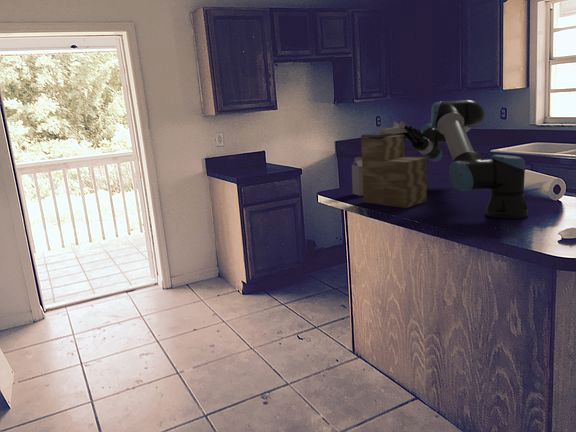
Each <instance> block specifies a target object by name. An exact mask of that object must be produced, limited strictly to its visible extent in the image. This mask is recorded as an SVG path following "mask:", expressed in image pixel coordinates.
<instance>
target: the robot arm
mask: <svg viewBox="0 0 576 432" xmlns="http://www.w3.org/2000/svg"><path fill="white" fill-rule="evenodd" d="M430 109H431V111H430V123H427V124H424V125H422V126H421V128H420V131H419V130H418V129H417V128H413V126H411V125H407V124H406V123H404V122H403V121H400V122H399V123H398V122H397V121H395V120H394V121H393V124H392V128H393V127H400V128H401V129H402V130H404V131H405V132H404V133H398V134H397V135H404V142H406V141H408V142H410V143H411V145H412V147H413V149H415V150H416V151H418V152H419V153H420V154H421V155H423V156H424V158H427V160H428V161H431V162H439V161H440V160H441V159H442V157H443V153H444V152H443V150H442V149H441V148H440V147H439V143H446V145H447V147H448V150H449V153H450V156H451V157H452V162H451V163H450V165H449V169H448V174H449V175H448V176H449V177H450V178H449V180H450V184H451V187H453V189H454V190H456V191H458V192H470V191H471V192H473V191H485V190H490V196H489V197H490V198H489V199H488V202H487V205H486V207H485V215H486V216H487V217H489V218H495V219H500V220H501V219H504V220H512V219H513V220H514V219H515V220H517V219H522V218H526V217H528V215H529V208H528V205H527V201H526V198H525V196H524V194H525V189H524V183H525V175H526V174H525V173H526V168H525V167H526V165H525V164H526V162H525V159H524V158H523V157H520V156H517V155H509V154H493V155H492V156H491V158H490V159H487V158H486V159H483V158H482V157H481V155H480V154H479V153H478V152H476V151H474V148H473V146H472V143H471V142H470V139H469V137H468V135H467V133H468V132H469V131H470V130H471V129H473V128H476V127H478V126H480V124H481V123H482V122H483V121H484V118H485V110H484V109H483V106H482V105H481V104H480V103H478V102H477V101H475V100H472V99H461V100H444V101H442V100H441V101H436V102H434V103H432V106H431V108H430Z"/></svg>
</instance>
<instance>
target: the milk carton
mask: <svg viewBox="0 0 576 432" xmlns="http://www.w3.org/2000/svg"><path fill="white" fill-rule="evenodd" d="M351 177H352V178H351V179H352V180H351V181H352V183H351V184H352V195H356V196H359V197H361V196H363V172H362V156H359V157H354V159H353V162H352V163H351Z"/></svg>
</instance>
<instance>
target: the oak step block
mask: <svg viewBox="0 0 576 432" xmlns="http://www.w3.org/2000/svg"><path fill="white" fill-rule="evenodd" d="M361 157H362V172H363V195H362V196H363V197H362V198H363V203H365V204H366V203H368V204H373V205H374V204H375V205H382V206H387V207H388V206H389V207H395V208H402V209H407V208H411V207H413V206H417V205H419V204H422V203H426V202H427V201H428V200H427V199H428V196H427V194H428V193H427V191H428V189H427V187H428V185H427V183H428V182H427V181H428V179H427V178H428V176H427V175H428V174H427V172H428V171H427V165H428V163H427V160H428V158H426V157H421V156H420V157H419V156H417V157H416V156H405V141H404V135H398V134H391V136H385V137H379V138H375V137H361Z"/></svg>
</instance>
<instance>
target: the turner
mask: <svg viewBox="0 0 576 432" xmlns="http://www.w3.org/2000/svg"><path fill="white" fill-rule="evenodd" d="M404 132H405V131H404V130H402V129H401V128H400V127H393V126H392V127H388V128H386V127H385V128H381V129H379V132H377V133H376V132H375V133H366V134H361V138H367V137H375V138H379V137H385V136H391V135H398V133H404Z"/></svg>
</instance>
